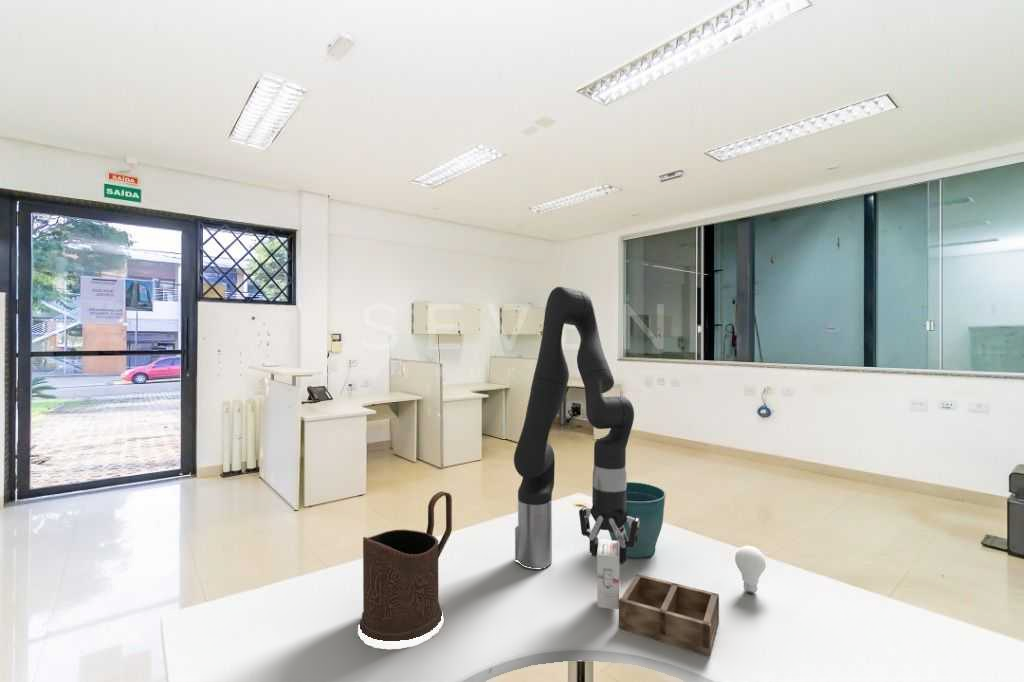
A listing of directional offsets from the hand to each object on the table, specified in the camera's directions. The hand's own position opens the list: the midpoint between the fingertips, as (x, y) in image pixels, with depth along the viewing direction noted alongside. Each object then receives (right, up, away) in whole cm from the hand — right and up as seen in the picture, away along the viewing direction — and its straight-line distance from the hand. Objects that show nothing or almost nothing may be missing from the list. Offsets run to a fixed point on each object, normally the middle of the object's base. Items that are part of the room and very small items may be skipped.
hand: (608, 558), depth 108 cm
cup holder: (-44, -12, -3) cm, 46 cm away
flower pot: (+13, -11, +30) cm, 34 cm away
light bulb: (+35, -11, +6) cm, 38 cm away
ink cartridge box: (0, -9, 0) cm, 9 cm away
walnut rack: (+12, -11, -6) cm, 17 cm away
